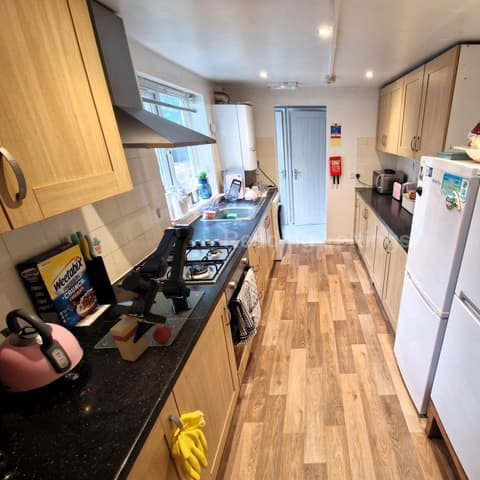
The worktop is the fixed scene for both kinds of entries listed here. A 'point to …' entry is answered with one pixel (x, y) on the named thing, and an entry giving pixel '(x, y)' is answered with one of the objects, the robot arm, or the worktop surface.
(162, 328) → the onion
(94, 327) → the worktop surface
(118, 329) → the box
